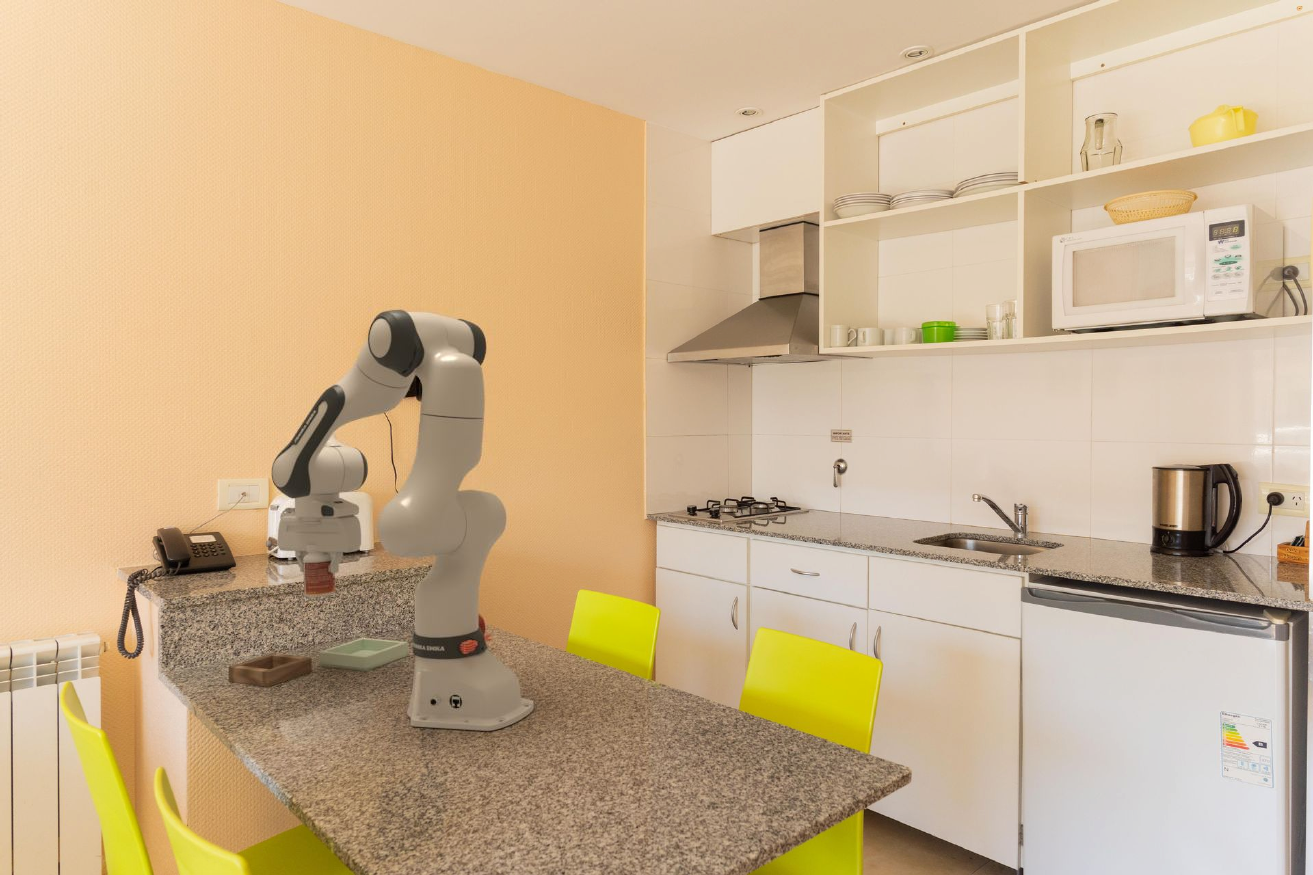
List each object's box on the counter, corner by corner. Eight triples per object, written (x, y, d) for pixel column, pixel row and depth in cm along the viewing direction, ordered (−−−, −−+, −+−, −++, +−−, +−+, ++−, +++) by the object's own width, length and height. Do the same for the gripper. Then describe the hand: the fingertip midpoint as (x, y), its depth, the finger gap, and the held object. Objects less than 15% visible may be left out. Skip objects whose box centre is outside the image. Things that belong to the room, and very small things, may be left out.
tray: (407, 655, 182) (407, 642, 182) (366, 671, 170) (365, 657, 170) (362, 650, 187) (362, 637, 187) (319, 665, 175) (319, 651, 175)
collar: (311, 671, 170) (311, 657, 170) (268, 687, 160) (268, 672, 160) (273, 666, 175) (273, 653, 175) (228, 681, 165) (228, 666, 165)
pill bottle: (340, 594, 173) (338, 542, 173) (311, 599, 168) (309, 546, 168) (328, 591, 177) (326, 540, 177) (299, 595, 173) (298, 544, 173)
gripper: (269, 508, 174) (271, 573, 174) (343, 509, 166) (345, 576, 166) (292, 506, 180) (294, 568, 180) (365, 506, 172) (367, 571, 172)
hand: (319, 572), depth 173 cm, fingers closed on pill bottle, 6 cm apart
